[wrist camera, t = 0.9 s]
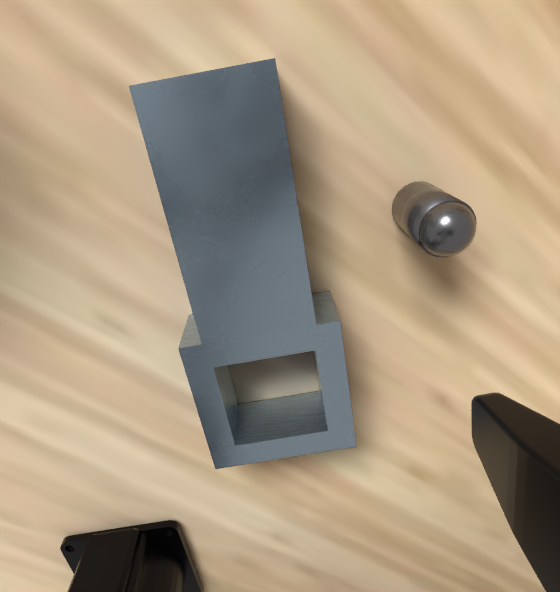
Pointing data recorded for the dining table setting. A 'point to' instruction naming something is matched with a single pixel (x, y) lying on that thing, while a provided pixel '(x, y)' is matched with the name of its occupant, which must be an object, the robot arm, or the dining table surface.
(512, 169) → the dining table surface
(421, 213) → the cylinder
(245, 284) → the link
